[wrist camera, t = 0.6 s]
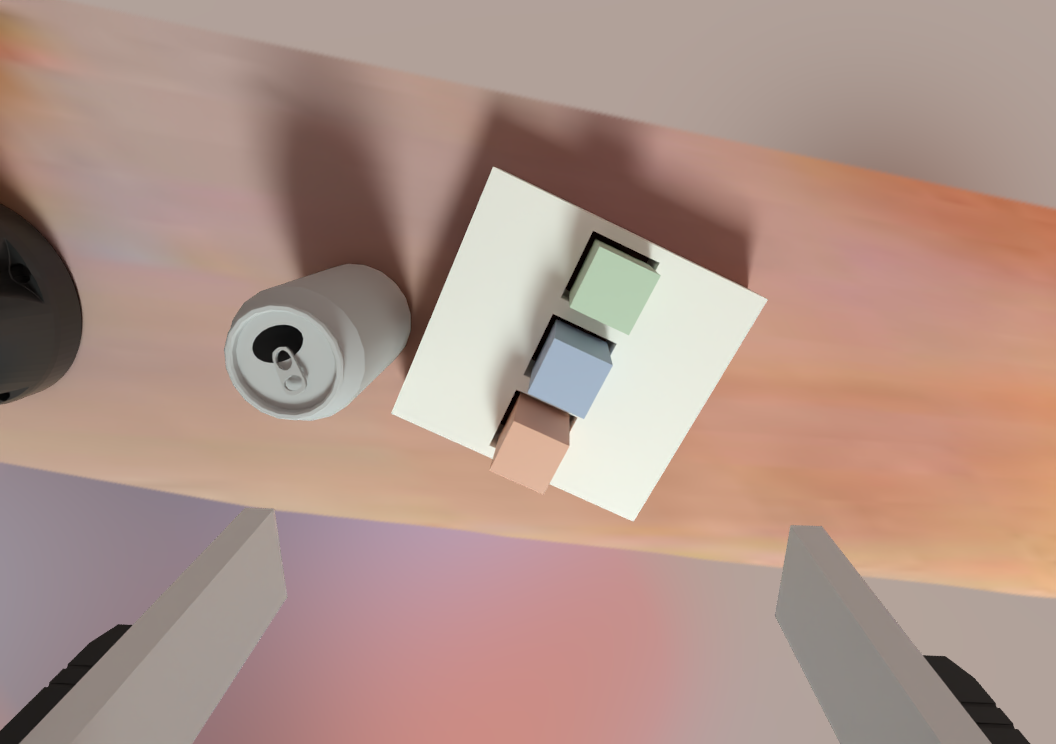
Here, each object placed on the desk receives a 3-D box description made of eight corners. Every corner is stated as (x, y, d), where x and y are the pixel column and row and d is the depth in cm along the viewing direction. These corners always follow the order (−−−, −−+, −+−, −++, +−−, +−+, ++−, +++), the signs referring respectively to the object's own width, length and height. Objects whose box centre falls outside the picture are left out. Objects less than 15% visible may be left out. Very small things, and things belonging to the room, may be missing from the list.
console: (407, 393, 42) (391, 413, 38) (501, 168, 37) (493, 166, 33) (627, 492, 43) (633, 521, 39) (747, 288, 38) (767, 299, 34)
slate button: (532, 367, 38) (527, 393, 33) (556, 318, 37) (554, 338, 32) (582, 390, 38) (584, 419, 33) (607, 342, 37) (612, 365, 32)
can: (384, 244, 39) (307, 267, 27) (432, 343, 41) (379, 403, 29) (290, 287, 40) (180, 325, 29) (341, 381, 42) (257, 452, 31)
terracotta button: (498, 436, 39) (489, 470, 35) (520, 392, 38) (513, 420, 33) (546, 458, 40) (543, 494, 35) (569, 414, 38) (569, 446, 34)
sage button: (569, 291, 36) (569, 307, 31) (595, 238, 35) (599, 246, 30) (620, 316, 36) (628, 335, 31) (648, 264, 35) (660, 275, 30)
